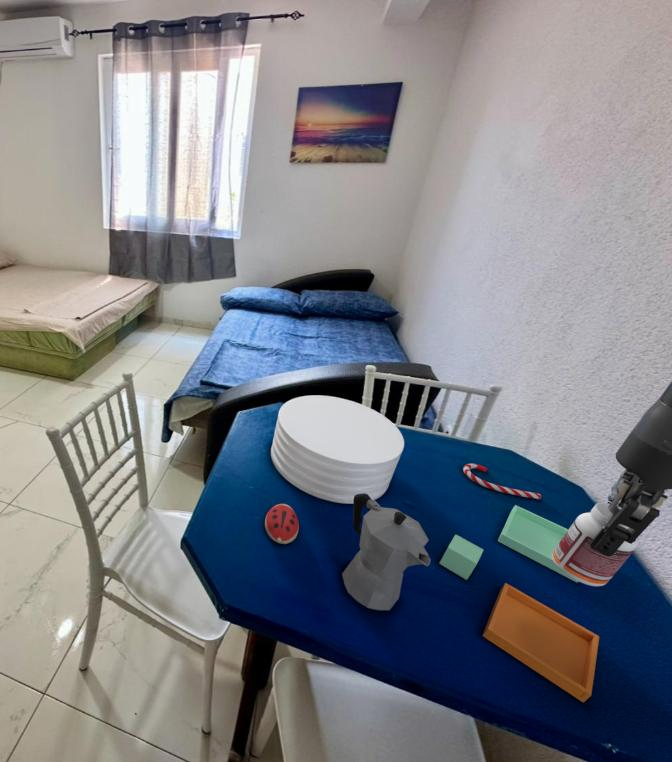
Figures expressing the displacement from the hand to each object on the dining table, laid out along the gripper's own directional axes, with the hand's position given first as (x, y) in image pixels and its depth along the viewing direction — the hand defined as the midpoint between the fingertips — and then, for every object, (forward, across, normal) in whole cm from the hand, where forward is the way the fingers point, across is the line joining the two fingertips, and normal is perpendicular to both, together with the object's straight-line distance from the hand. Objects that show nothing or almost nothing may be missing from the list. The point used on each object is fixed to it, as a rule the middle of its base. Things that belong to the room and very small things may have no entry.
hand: (602, 537), depth 57 cm
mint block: (+21, +4, +12) cm, 25 cm away
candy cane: (+22, +38, +12) cm, 45 cm away
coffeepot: (+21, -13, +22) cm, 33 cm away
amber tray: (+21, -2, -1) cm, 21 cm away
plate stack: (+21, +13, +43) cm, 50 cm away
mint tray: (+21, +23, +2) cm, 31 cm away
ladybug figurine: (+21, -14, +39) cm, 47 cm away
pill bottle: (+7, 0, 0) cm, 7 cm away
